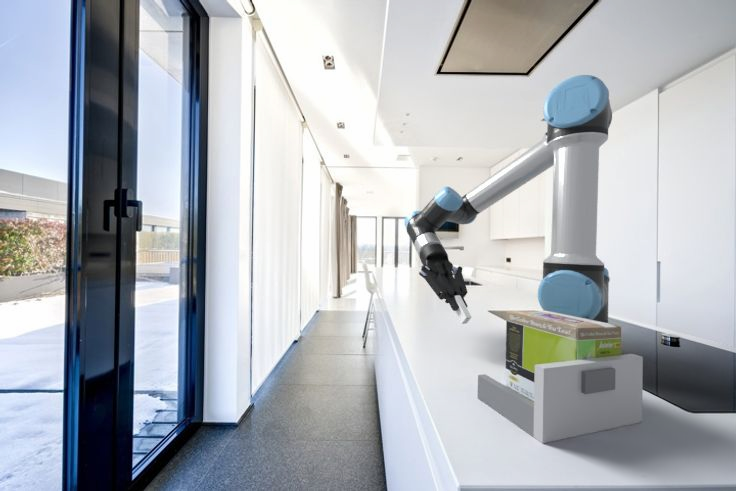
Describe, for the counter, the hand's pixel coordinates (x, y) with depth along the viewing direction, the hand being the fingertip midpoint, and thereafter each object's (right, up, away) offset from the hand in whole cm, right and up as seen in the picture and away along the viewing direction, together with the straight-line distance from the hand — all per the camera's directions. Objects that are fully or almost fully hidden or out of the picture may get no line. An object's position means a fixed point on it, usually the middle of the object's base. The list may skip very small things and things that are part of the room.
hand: (466, 320), depth 75 cm
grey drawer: (+7, -9, -23) cm, 26 cm away
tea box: (+9, -9, -20) cm, 24 cm away
